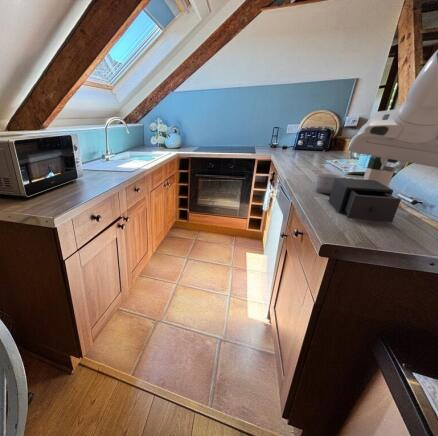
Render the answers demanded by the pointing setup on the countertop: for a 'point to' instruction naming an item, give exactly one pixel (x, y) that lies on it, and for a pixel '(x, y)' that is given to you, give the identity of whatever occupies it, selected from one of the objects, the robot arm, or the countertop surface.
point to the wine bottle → (378, 171)
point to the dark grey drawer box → (344, 185)
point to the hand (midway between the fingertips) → (387, 169)
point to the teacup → (326, 182)
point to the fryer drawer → (371, 205)
